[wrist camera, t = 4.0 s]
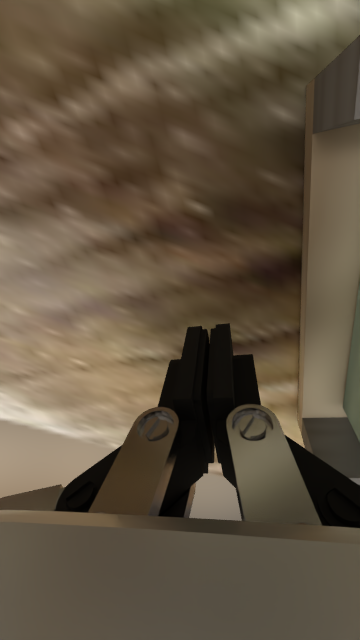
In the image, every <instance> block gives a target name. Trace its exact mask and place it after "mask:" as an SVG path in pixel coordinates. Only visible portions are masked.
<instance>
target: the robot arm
mask: <svg viewBox="0 0 360 640" xmlns="http://www.w3.org/2000/svg"><path fill="white" fill-rule="evenodd" d="M214 446H215V448H216V453H217V459H218V463H221V466H222V471H223V476H224V477H225V478H226V479H227V480H228V481H229V482H230V483H231V484H232V485H233V486H234V487H235V488H236V492H237V498H238V503H239V508H240V514H241V519H242V521H233V520H215V519H197V518H189V516H190V512H191V507H192V503H193V499H194V494H195V487H196V484H195V482H196V481H198V480H199V479H200V478H201V477H202V476H203V473H208V463H214ZM0 640H360V485H358V484H357V483H355V482H354V481H352V480H351V479H349V478H348V477H346V476H345V475H343V474H342V473H340V472H339V471H337V470H336V469H335V468H333V467H332V466H330V465H329V464H327V463H326V462H324V461H323V460H321V459H320V458H318V457H317V456H315V455H314V454H312V453H311V452H309V451H308V450H306V449H305V448H303V447H302V446H300V445H299V444H297V443H296V442H294V441H293V440H292V439H290V438H289V437H287V436H286V435H284V433H283V430H282V428H281V426H280V423H279V421H278V419H277V417H276V416H275V414H274V413H273V412H272V411H270V410H269V409H268V408H266V407H263V406H261V403H260V397H259V391H258V384H257V378H256V372H255V366H254V360H253V355H252V354H250V355H235V356H233V348H232V339H231V331H230V323H228V324H218V325H216V328H213V329H211V334H210V343H209V337H208V331H207V329H202V326H196V327H188V329H187V333H186V338H185V343H184V348H183V352H182V357H181V359H177V360H171V361H170V363H169V367H168V370H167V374H166V378H165V382H164V385H163V389H162V393H161V397H160V401H159V404H158V407H155V408H152V409H149V410H147V411H145V412H143V413H142V414H141V415H140V416H139V417H138V418H137V419H136V421H135V422H134V424H133V426H132V428H131V430H130V432H129V433H128V435H127V437H126V439H125V441H124V443H123V445H122V446H120V447H119V448H117V449H116V450H115V451H113V452H112V453H110V454H109V455H108V456H106V457H105V458H104V459H102V460H101V461H99V462H98V463H96V464H95V465H94V466H92V467H91V468H89V469H88V470H86V471H85V472H84V473H82V474H81V475H79V476H78V477H77V478H75V479H74V480H73V481H72V482H71V483H69V484H68V485H67V486H66V487H64V488H63V487H62V485H56V486H52V487H47V488H42V489H38V490H33V491H29V492H24V493H20V494H15V495H11V496H7V497H3V498H0Z"/></svg>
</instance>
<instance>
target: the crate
mask: <svg viewBox="0 0 360 640" xmlns="http://www.w3.org/2000/svg"><path fill="white" fill-rule="evenodd" d="M343 409H344V411H345V413H346V415H347V417H348V419H349V421H350V423H351V425H352V428H353V430H354V432H355V434H356V436H357V438H358V440H359V442H360V281H359V289H358V296H357V304H356V311H355V319H354V327H353V334H352V342H351V349H350V357H349V364H348V372H347V379H346V387H345V394H344V402H343Z"/></svg>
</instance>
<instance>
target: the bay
mask: <svg viewBox="0 0 360 640" xmlns="http://www.w3.org/2000/svg"><path fill="white" fill-rule="evenodd" d="M359 281H360V35H359V36H358V37H357V38H356V39H355V40H354V41H353V42H352V43H351V44H350V45H349V46H348V47H347V48H346V49H345V50H344V51H343V52H342V53H341V54H339V55H338V56H337V57H336V58H335V59H334V60H333V61H332V62H331V63H330V64H329V65H328V66H327V67H326V68H325V69H324V70H323V71H322V72H321V73H319V74H318V75H317V76H316V77H315V78H314V79H313V80H312V81H311V82H310V83H309V84H308V85H307V86H306V123H305V161H304V200H303V239H302V277H301V316H300V355H299V393H298V424H299V428H300V431H301V435H302V438H303V442H304V445H305V449H306V450H308V451H309V452H311V453H312V454H314V455H315V456H317V457H318V458H320V459H321V460H323V461H324V462H326V463H327V464H329V465H330V466H332V467H333V468H335V469H336V470H337V471H339V472H340V473H342V474H343V475H345V476H346V477H348V478H349V479H351V480H352V481H354V482H355V483H357V484H358V485H360V442H359V440H358V438H357V436H356V434H355V432H354V430H353V428H352V425H351V423H350V421H349V419H348V417H347V415H346V413H345V411H344V409H343V402H344V394H345V387H346V379H347V372H348V364H349V357H350V349H351V342H352V334H353V327H354V319H355V311H356V304H357V296H358V289H359Z"/></svg>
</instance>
